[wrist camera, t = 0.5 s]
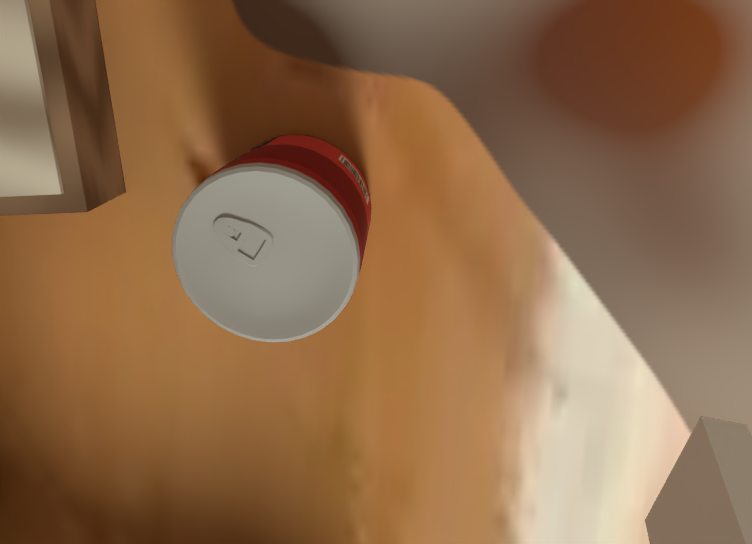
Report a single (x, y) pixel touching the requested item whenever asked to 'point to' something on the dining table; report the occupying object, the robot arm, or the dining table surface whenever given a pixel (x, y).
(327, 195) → the canned food
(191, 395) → the dining table surface
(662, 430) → the dining table surface
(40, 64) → the base
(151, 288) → the dining table surface
